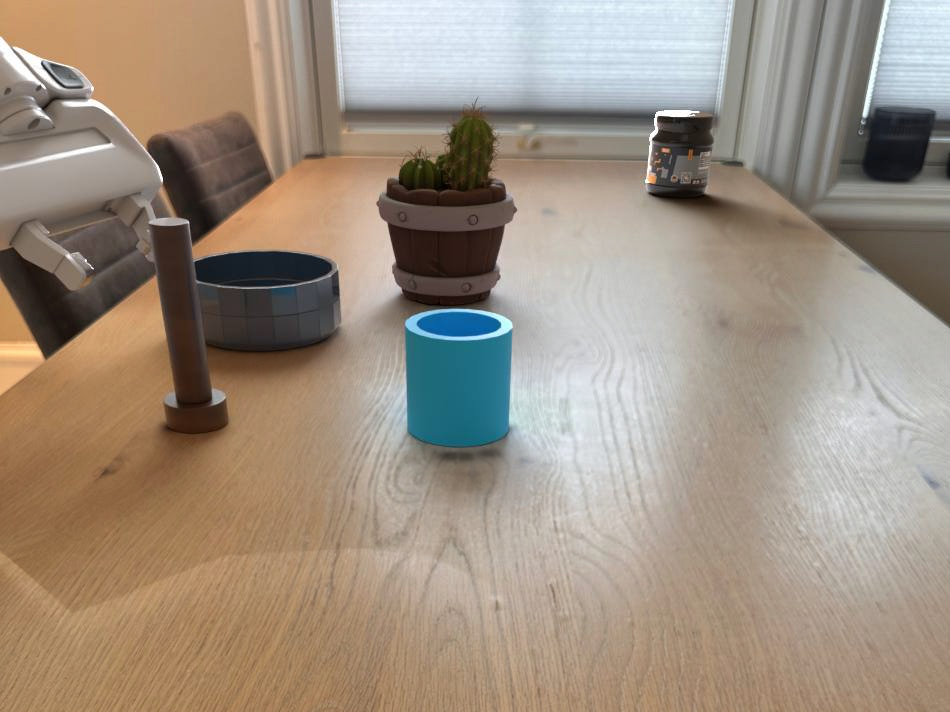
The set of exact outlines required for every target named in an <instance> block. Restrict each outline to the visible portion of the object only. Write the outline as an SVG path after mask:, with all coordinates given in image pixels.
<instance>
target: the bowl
mask: <svg viewBox="0 0 950 712" xmlns="http://www.w3.org/2000/svg"><path fill="white" fill-rule="evenodd" d="M194 264H195V271H196V278H197V286H198V293H199V300H200V308H201V315H202V322H203V329H204V337H205V344H206V345H210V346H213V347H217V348H222V349H226V350H233V351H242V352H243V351H245V352H270V351H271V352H272V351H282V350H292V349H296V348H302V347H306V346H310V345H313V344H316V343H319V342H322V341H323V340H326V339H327V338H329V337H330V336H332V335H333V333H334V332H335V330H337V328H339V326H340V325H341V324H342V310H341V309H342V308H341V307H342V305H341V291H340V290H341V289H340V275H339V273H340V272H339V265H338V263H337V262H336V261H334V260H333V259H331V258H330V257H326V256H323V255H319V254H316V253H311V252H304V251H298V250H287V249H285V250H284V249H246V250H234V251H225V252H220V253H219V252H218V253H214V254H213V253H212V254H207V255H204V256H200V257H197V258H194Z"/></svg>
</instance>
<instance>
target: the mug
mask: <svg viewBox="0 0 950 712" xmlns="http://www.w3.org/2000/svg"><path fill="white" fill-rule="evenodd" d="M513 331H514V330H513V322H512V321H511V320H510V319H508V317H506V316H503V315H501V314H498V313H496V312H495V313H494V312H491V311H486V310H480V309H472V308H471V309H470V308H443V309H434V310H428V311H423V312H419V313H416V314H414V315H412V316H410V317H409V318H407V319H406V320H405V324H404V335H405V339H404V340H405V379H406V380H405V383H406V385H405V386H406V417H407V418H406V425H407V427H406V428H407V430H408V432H409V433H410V435H411V436H413V437H414V438H416V439H417V440H420V441H422V442H426V443H428V444H432V445H437V446H442V447H443V446H444V447H459V448H461V447H462V448H464V447H465V448H466V447H476V446H483V445H487V444H490V443H491V444H492V443H494V442H496V441H498V440H500V439H503V438H504V437H505V436H506V435H507V434H508V432H509V429H510V407H511V406H510V404H511V377H512V356H513V355H512V353H513V352H512V351H513Z"/></svg>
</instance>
